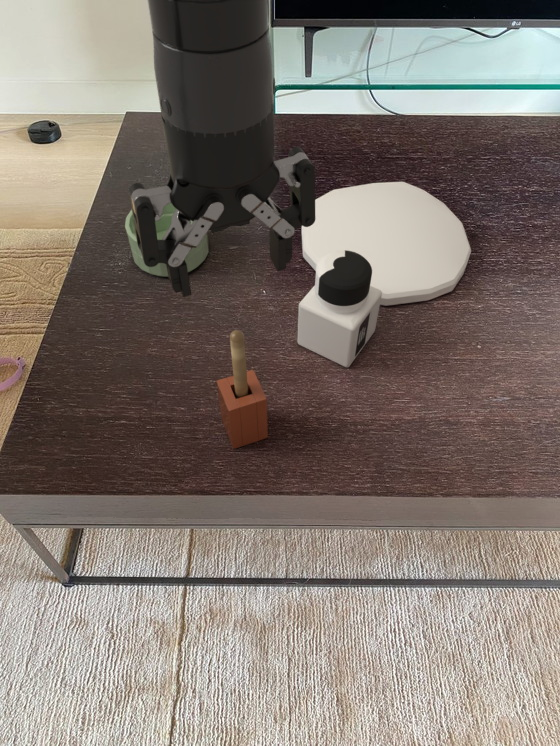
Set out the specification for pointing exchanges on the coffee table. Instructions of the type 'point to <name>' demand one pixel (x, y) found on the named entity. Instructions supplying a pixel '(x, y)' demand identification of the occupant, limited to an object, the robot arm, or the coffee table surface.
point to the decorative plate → (392, 238)
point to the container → (339, 308)
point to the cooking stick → (239, 363)
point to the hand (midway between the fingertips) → (231, 276)
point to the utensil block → (243, 411)
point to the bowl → (162, 225)
